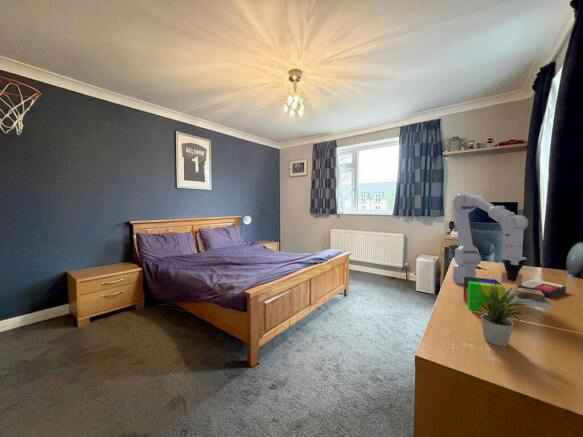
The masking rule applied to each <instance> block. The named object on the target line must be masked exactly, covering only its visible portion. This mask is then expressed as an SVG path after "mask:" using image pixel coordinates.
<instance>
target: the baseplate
mask: <svg viewBox="0 0 583 437" xmlns="http://www.w3.org/2000/svg"><path fill="white" fill-rule="evenodd" d="M507 291H508V290H505V293H506V292H507ZM514 293H515V291H511V292H510V293H509V295H508V297H509V296H510V295H512V294H514ZM508 297H507V298H508ZM514 299H515V300H521V299H526V298H520V297H517V296H515V298H514ZM515 300H512V301H511V302H510V303H512V302H514V301H515ZM522 301H525V302H521V303H520V304H528V305H527V306H529V305H534V306H533V307H535V308H541V309H547V310H551V311H555V308H553V307H552V304H550V303H549V301H548V300H547V299H546V297H544V301H539V300H533V299H532V300H522ZM518 302H520V301H518ZM527 302H529V303H527ZM514 303H517V302H514ZM529 307H530V306H529Z"/></svg>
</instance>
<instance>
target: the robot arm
mask: <svg viewBox="0 0 583 437" xmlns="http://www.w3.org/2000/svg"><path fill="white" fill-rule="evenodd" d="M452 202H453V210H454V218H455V224H456V231H457V238H458V245H459V246H458V247H457V248H456V249H454V256H453V257H454V258H453V259H454V262H455V263H454V264H453V270H452V275H451V277H452V283H453V284H461V285H464V276H465V277H475V278H477V267H478V266H479V265H480V264H481V262H482V256H481V254H480V253H479V249H478V247H476V246H474V244H473V238H472V232H471V224H470V218H469V214H470V213H471V212H472V211H474V210H475V209H476V208H479V209H481V210H482V211H485V212H486V213H487V214H488V217H489V218H491V219H493V220H494V221H495V222H497V223H498V224H500V227H501V229H502V234H503V242H502V243H503V246H502V247H503V248H502V256H501V258H502V259H501V261H502V263H503V266H504V271H507V277H508V280H510V281H516V279H517V276H518V273H520V271H521V269H522V268H523V267H524V264H523V263H522V264H521V261H524V260H525V261H526V260H527V257H525V256H523V247H524V246H523V244H524V230H526V229H527V227H528V226H529V219H528V218H527V217H526V216H524V215H523V214H520V215H519V214H518V215H517V214H515V212H514V211H510V210H508V209H506V206H504V205H494V204H492V203H491V202H489V201H488V200H486V199H485V198H484V197H483V195H480V194H479V193H472V194H471V193H470V194H469V193H468V194H466V193H465V194H464V193H458V194H456V195H455V197H454V198H453V200H452Z"/></svg>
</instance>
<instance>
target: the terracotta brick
mask: <svg viewBox="0 0 583 437" xmlns="http://www.w3.org/2000/svg"><path fill="white" fill-rule="evenodd" d="M500 283H502V284H509V285H516V286H517V285H522V283H523V273H522V272H519V273H518V276H517V279H516V281H510V280H508V277H507V271H506V270H501V271H500Z"/></svg>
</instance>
